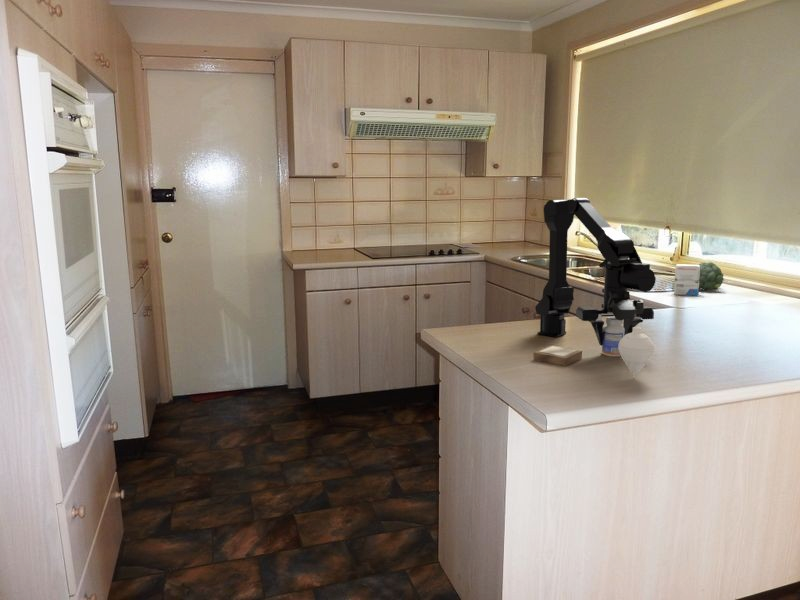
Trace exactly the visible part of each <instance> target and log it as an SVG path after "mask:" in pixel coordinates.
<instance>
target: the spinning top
mask: <svg viewBox="0 0 800 600" xmlns="http://www.w3.org/2000/svg"><path fill="white" fill-rule="evenodd" d="M654 347H655V345H654V343H653V341H652V339H651V338H650V337H649V336H648V335H646V334H644V333H643V332H642V327H640V326H635V327H633V331H632V333H628V334H626V335H625V336H624V337H623V338H622V339H621V340H620V342H619V345H618V349H619V353H620V355H621V356H620V357H621V359H622V361H623V362H624V363H625V365H626V368H628V369H629V371H630V372H631V373H632V375H633V379H635V378H636V374H638V373H639V372H640V371H641V370H642V369H643V368H644V367H645V366H646V364H647V363H648V362H649V361H650V359H651V358H652V356H653V354H654V350H655V348H654Z"/></svg>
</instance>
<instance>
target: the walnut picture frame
mask: <svg viewBox="0 0 800 600" xmlns="http://www.w3.org/2000/svg"><path fill="white" fill-rule="evenodd" d="M533 359H534V360H533ZM533 359H532V360H533V361H537V360H539V361H538V362H542V361H544V362H543V363H547V362H548V364H552V363H553V364H552V365H558V366H564V367H567V366H569V365H571V364H573V363H575V362H577V361H579V360H581V359H583V350H580V349H575V348H569V347H564V346H558V345H552V344H549V345H548V346H546V347H543V348H540V349H538V350H535V351H533Z"/></svg>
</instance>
